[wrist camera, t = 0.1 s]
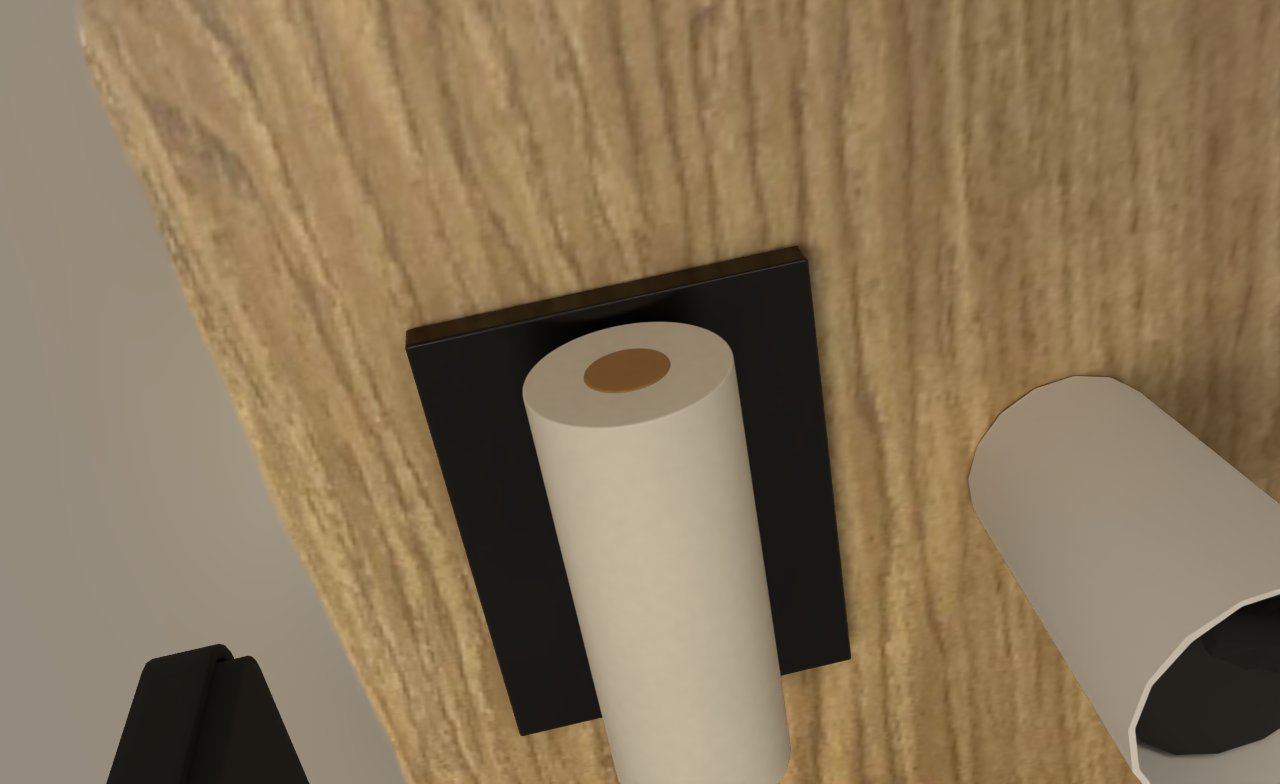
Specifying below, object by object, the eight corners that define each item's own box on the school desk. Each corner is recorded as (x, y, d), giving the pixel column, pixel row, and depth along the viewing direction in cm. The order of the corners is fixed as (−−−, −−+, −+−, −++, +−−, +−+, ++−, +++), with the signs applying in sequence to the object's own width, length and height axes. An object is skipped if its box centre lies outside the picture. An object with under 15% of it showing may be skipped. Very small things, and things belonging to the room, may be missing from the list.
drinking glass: (958, 379, 33) (1146, 607, 24) (1190, 345, 34) (1455, 556, 25) (948, 575, 36) (1111, 839, 27) (1160, 541, 37) (1385, 788, 28)
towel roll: (515, 345, 29) (528, 446, 25) (709, 303, 29) (755, 395, 25) (606, 713, 35) (628, 845, 31) (767, 675, 35) (811, 801, 31)
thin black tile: (405, 329, 30) (404, 346, 29) (797, 244, 30) (808, 258, 30) (518, 713, 36) (520, 737, 35) (842, 638, 37) (852, 660, 36)
